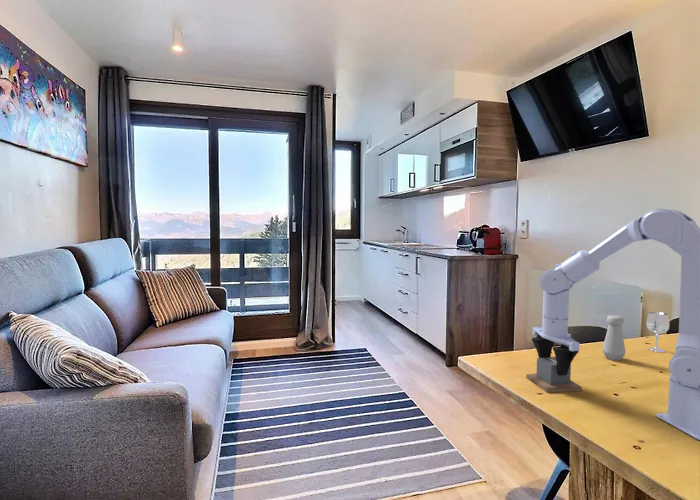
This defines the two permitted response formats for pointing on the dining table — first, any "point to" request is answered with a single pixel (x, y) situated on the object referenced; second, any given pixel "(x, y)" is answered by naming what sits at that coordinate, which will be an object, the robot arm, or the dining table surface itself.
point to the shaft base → (553, 388)
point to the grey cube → (551, 371)
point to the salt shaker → (614, 339)
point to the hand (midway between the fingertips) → (553, 370)
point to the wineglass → (657, 326)
